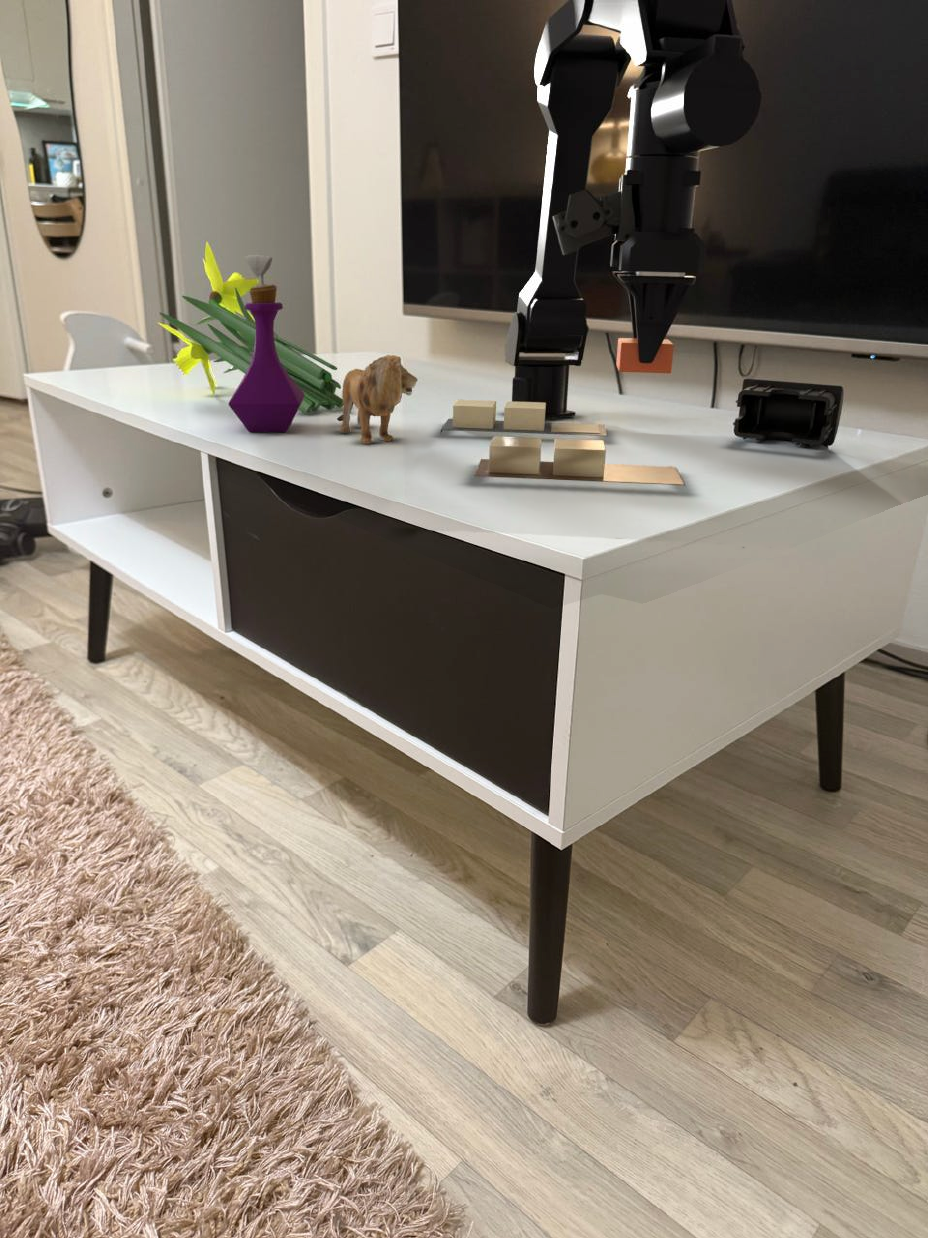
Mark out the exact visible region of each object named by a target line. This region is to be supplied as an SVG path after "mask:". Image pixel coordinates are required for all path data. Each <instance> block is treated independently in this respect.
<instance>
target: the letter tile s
mask: <svg viewBox="0 0 928 1238" xmlns="http://www.w3.org/2000/svg"><path fill="white" fill-rule="evenodd" d="M674 350H675V344H674V343H672V341H671V340H670V339H666V338H665V339H664V340H663V342H662V344H661V346H660V348H659V350H658V352H657V354H656V356H655V358H654V360H653V362H652V363H641V362H640V361H639V355H638V344H637V338H633V337H629V338H628V337H619V338H618V340H617V351H616V361H615V362H616V363H615V365H616V369H617V370H618V372H619V373H643V374H669V375H670V374H671V373H672V367H673V358H674Z"/></svg>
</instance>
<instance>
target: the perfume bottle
mask: <svg viewBox="0 0 928 1238" xmlns="http://www.w3.org/2000/svg"><path fill="white" fill-rule="evenodd" d="M244 257H245V259H246V261H247V263H248V265H249V267H250V269H251V271H252V272H253V274H254V275H255V276H256V277H257V278H259V277H260V284H257V285H255V286H253V287H251V289H250V290H249V295H250V299H251V301H249V302H246V303H244V306H245V309H246V310H247V311H249V313H250V314H251V315H252V316H253V318H254V320H255V321H254V322H255V325H256V340H255V348H254V353H253V354H252V355H253V357H252V361H251V363H250V365H249V367H248V369H247V371H246V373H244V375H243V377H242V379H241V381H240V383H239V384H238V386H237V388H236V389H235V391H234V393H233V395H232V396H231V398H230V399H229V401H228V406H229V408H230V409H231V410H232V412H233V413H234V414H235V415H236V417H237V419H238V420H239V421H240V422H241V423H242V425H243V426H244V427H245V429H246V430H247V431H248V432H249V433H286V432H288V431H289V429H290V427H291V425H292V424H293V421H294V419H295V416H296V415H297V413H298V411H299V407H300V405H301V403H302V401H303V398H304V396H305V394H304V393H303V392H302V390H301V389H300V388H299V387H298V386H297V384H296V383H295V382H294V381H293V380H292V379H291V377H290V376H289V375H288V373H287V372H286V370H285V369H284V367H283V366H282V364H281V363H280V360H279V358H278V355H277V352H276V347H275V342H274V332H275V331H274V326H275V320H276V316H277V315H278V312H279V311H281V310H283V308H284V307H283V303H282V302H280V301H279V302H278V301H276V299H277V298H276V297H277V291H278V287H277V285H275V284H274V283H264V282H265V281H264V277H265V274H266V273H267V272H268V270H269V269H270V268H271V265H272V262H273V256H271V255H270V256H269V255H262V254H254V255H245V256H244Z"/></svg>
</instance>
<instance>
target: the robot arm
mask: <svg viewBox="0 0 928 1238" xmlns="http://www.w3.org/2000/svg"><path fill="white" fill-rule="evenodd" d="M735 12H736V11H735V8H734V3H733V0H567V1H566V2H565V3H564V4H563V5H562V6H561V7H559V9H557V10H556V11H555V12H554V13H553V14H552V15H551V16H550V17H548V19H547V20H546V22H545V25H544V28H543V31H542V35H541V38H540V40H539V44H538V47H537V51H536V55H535V60H534V81H535V84H536V86H537V104H538V106H539V108H540V111H541V114H542V116H543V118H544V120H545V123H546V125H547V128H548V131H549V132H548V142H547V143H548V144H547V151H546V152H547V154H546V163H545V171H544V181H543V192H542V200H541V201H542V202H541V212H540V222H539V232H538V240H537V252H536V261H535V269H534V272H533V275H532V276H531V277H530V278H529V280H528V281H527V283H526V284H525V285H524V287H523V288H522V289H521V291H520V292H519V295H518V301H517V307H516V311H515V312H514V313H513V314H512V317H511V321H510V325H509V329H508V332H507V335H506V339H505V343H504V362H505V363H506V364H508V365H510V366H512V367H514V376H513V377H512V383H511V385H512V388H511V401H512V402H540V403H546V409H545V421H547V420H553V419H560V418H567V417H575V416H576V414H577V413H576V411H573V410H569V409H568V396H569V394H568V393H569V377H570V366H575V367H581V366H582V361H583V359H584V354H585V348H586V342H587V336H588V333H589V330H590V326H589V325H588V322H587V316H586V314H587V304H586V301H585V299H583V296H582V295H581V292H580V289H579V287H578V285H577V283H576V272H577V265H578V258H579V250H581V248H582V247H584V246H586V245H588V244H591V243H595V242H597V241H600V240H602V239H605V238H608V237H611V236H614V242H613V243H612V244H611V249H610V250H611V251H610V252H611V253H610V261H609V264H610V265H609V266H610V267H611V268H614V267H615V268H618V271H612V274H613V276H614V277H615V278H616V280H617V281H618V282H619V283H620V284H621V286H622V287H623V288H624V289H625V290H626V292H627V294H628V301H629V302H628V303H629V309H630V311H629V312H630V320H631V329H632V338H637V344H638V355H639V361H640V362H641V363H652V362H653V360H654V358H655V356H656V354H657V352H658V350H659V348H660V346H661V344H662V342H663V340H664V339H666V336H667V335H668V333H669V331H670V328H671V327H672V325H673V323H674V321H675V318H676V317H677V315H678V313H679V311H680V309H681V307H682V305H683V303H684V302H685V300H686V297H687V296H688V294H689V292H690V290H691V288H692V286H693V285H694V284H695V282H696V279H697V277H696V276H694V275H686V274H705V268H706V260H707V251H708V246H707V244H706V243H705V242H704V240H702V238H701V237H700V235H698V233H697V232H695V230H696V229H695V228H694V227H693V228H692V225H693V216H694V207H695V198H696V188H697V187H699V186H700V185H701V176H702V171H701V170H698V169H699V160H700V159H699V158H700V152H702V151H707V150H712V149H716V148H721V147H726V146H730V145H732V144H734V143H736V142H738V141H740V140H741V139H742V138H743V137H745V136H746V135H747V134H748V133H749V131H750V130H751V128H752V127H753V125H754V123H755V122H756V120H757V117H758V115H759V112H760V108H761V103H762V92H761V91H760V84H759V80H758V77H757V74H756V72H755V70H754V69H753V68H752V66H751V65H750V63H749V62H748V61H746V59H745V57H744V50H745V49H746V45H745V42H744V39H743V36H742V34H741V32H740V29H739V25H738V20H737V18H736V17H737V16H736V13H735ZM584 26H592V27H593V26H595V27H600V28H603V29H606V30H609V31H612V32H615V33H618V34H619V35H618V36H617V37H618V38H617V39H616V42H615V41H614V37H613V36H611V35H599V34H584V33H581V31H582V30H583V27H584ZM631 60H632V62H633V64H634V66H635V67H643V69H642V71H641V73H640V74H639V76H638V77H637V78H636V79H635V80H634V81H633V82H632V83H631V86H630V87H629V90H628V93H627V98H628V100H630V108H629V109H630V111H629V120H628V121H629V122H628V134H627V145H626V159H625V170H624V171H625V172H624V173H623V174H621V177H619V180H618V181H619V183H618V191H617V192H614V193H612V194H608V195H606V196H601V197H600V198H595V196H594V195H593V194H592V193H591V192H590V191H589V189H587V186H588V179H589V178H588V177H589V170H590V162H591V156H592V155H591V154H592V146H593V140H594V136H595V135H596V133H597V132H598V130H600V127H601V126H602V125H603V123H604V122H605V120H606V119H607V118H608V116H609V115H610V114H611V112H612V110H613V106H614V101H615V96H616V90H617V89H618V88H619V87H620V85H621V83H622V81H623V78H624V76H625V74H626V71H628V70H627V69H628V67H629V65H630V64H631ZM520 354H565V355H560V356H559V355H558V356H557V355H551V356H550V355H547V356H546V355H544V356H543V355H534V356H531V355H528V356H527V355H520Z"/></svg>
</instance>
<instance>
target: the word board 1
mask: <svg viewBox="0 0 928 1238" xmlns="http://www.w3.org/2000/svg"><path fill="white" fill-rule="evenodd" d="M503 408H504V410H503V412H504V413H503V420H496V418H497V417H496V416H497V400H483V399H481V400H479V399H457V400H456V401H455V402H454V403H453V405H452V418H447V420H446V421H445V423H444V424H443V425H442V426H441V428H440V430H439V431H440V432H439V433H440V435H441V434H442V432H443V431H460V432H461V431H462V432H485V433H486V432H488V433H511V434H513V433H515V434H540V435H562V436H563V435H564V436H566V435H567V436H590V437H591V436H594V437H608V433H607V429H606V425H605V424H601V423H574V422H548V421H547V422H546V420H545V409H546V403H540V402H512V400H511V401H510V400H509V401H508V400H507V401H506V403H505V405H504V407H503Z"/></svg>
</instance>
